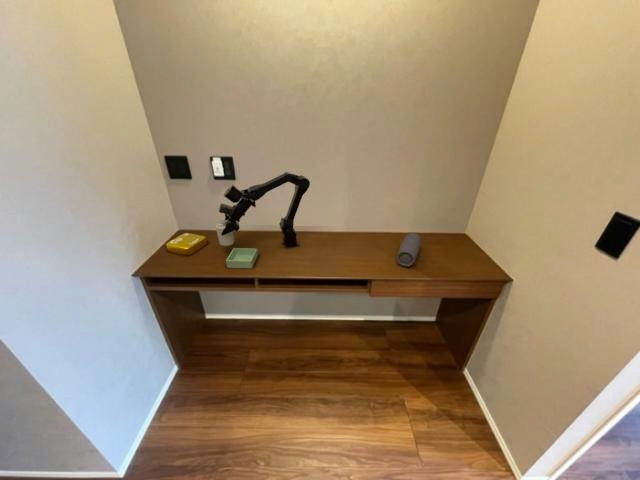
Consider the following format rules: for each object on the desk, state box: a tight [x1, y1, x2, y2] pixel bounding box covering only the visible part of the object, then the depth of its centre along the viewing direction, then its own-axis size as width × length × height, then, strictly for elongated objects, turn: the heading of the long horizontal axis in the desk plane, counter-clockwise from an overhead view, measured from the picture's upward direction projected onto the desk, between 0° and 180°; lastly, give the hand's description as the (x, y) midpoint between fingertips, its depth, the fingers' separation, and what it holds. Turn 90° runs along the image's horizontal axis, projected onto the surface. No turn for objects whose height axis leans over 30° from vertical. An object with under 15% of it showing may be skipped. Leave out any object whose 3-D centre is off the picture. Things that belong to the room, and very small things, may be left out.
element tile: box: [165, 232, 208, 256], centre depth 143 cm, size 15×15×5 cm
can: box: [215, 219, 235, 247], centre depth 133 cm, size 8×8×12 cm
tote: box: [225, 247, 259, 269], centre depth 131 cm, size 12×12×4 cm
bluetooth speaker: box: [396, 232, 422, 267], centre depth 135 cm, size 23×9×10 cm, turn 154°
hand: (221, 231), depth 132 cm, fingers closed on can, 7 cm apart
